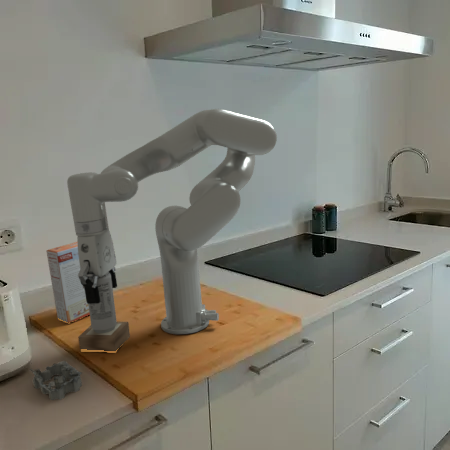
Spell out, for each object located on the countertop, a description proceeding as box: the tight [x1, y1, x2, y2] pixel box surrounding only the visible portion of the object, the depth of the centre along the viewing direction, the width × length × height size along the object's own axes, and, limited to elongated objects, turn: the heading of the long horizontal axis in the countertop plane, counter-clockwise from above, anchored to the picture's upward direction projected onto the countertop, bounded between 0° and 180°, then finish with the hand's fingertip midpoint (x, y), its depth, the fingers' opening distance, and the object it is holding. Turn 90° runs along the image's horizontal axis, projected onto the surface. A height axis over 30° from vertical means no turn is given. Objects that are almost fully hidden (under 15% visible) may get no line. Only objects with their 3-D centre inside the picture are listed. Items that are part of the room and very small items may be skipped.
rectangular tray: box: [78, 321, 131, 351], centre depth 117 cm, size 9×9×4 cm
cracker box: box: [46, 241, 90, 323], centre depth 135 cm, size 14×6×21 cm, turn 141°
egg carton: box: [29, 360, 83, 401], centre depth 99 cm, size 11×8×4 cm
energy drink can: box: [88, 272, 118, 333], centre depth 115 cm, size 6×6×15 cm
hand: (102, 295), depth 115 cm, fingers open, 9 cm apart
